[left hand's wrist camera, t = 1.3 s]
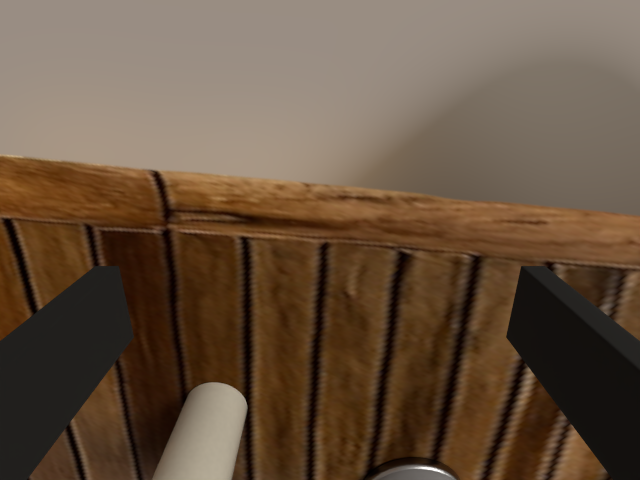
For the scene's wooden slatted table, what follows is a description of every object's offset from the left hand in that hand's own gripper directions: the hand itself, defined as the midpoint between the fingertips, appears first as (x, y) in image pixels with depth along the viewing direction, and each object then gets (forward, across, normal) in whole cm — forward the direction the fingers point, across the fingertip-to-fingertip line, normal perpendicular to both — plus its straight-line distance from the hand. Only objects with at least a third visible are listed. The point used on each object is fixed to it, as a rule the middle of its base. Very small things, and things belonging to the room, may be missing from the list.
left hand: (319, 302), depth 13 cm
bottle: (+28, +14, +32) cm, 45 cm away
